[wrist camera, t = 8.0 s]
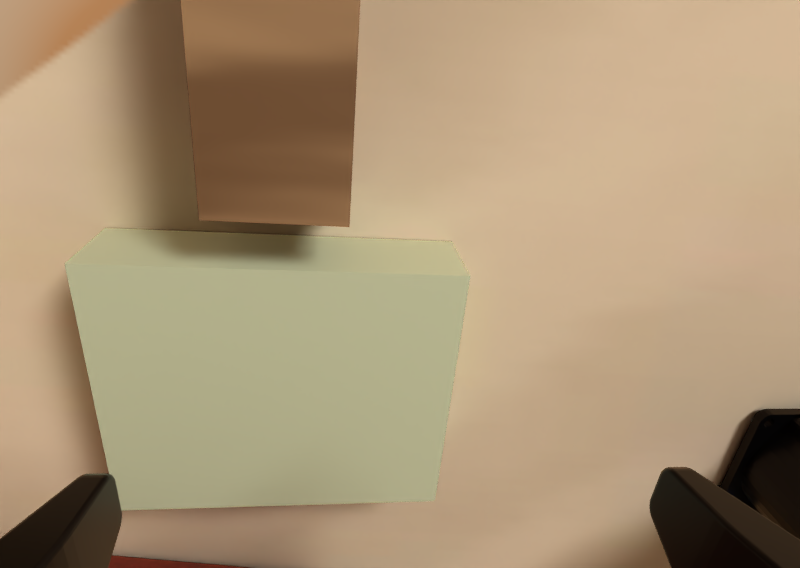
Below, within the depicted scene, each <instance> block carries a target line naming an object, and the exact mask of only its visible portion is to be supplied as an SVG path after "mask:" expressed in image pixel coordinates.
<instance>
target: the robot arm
mask: <svg viewBox="0 0 800 568" xmlns="http://www.w3.org/2000/svg"><path fill="white" fill-rule="evenodd" d="M650 513H651V517H652V519H653V522H654V525H655V527H656V530H657V532H658V535H659V538H660V540H661V543H662V545H663V548H664V550H665V553H666V556H667V558H668V561H669V563H670V566H671V568H800V409H764V410H761V411H759V412H758V413H757V414H756V415H755V416H754V418H753V420H752V422H751V424H750V426H749V428H748V430H747V432H746V434H745V437H744V439H743V441H742V443H741V445H740V447H739V449H738V451H737V453H736V455H735V457H734V459H733V462H732V464H731V466H730V468H729V470H728V472H727V474H726V476H725V478H724V480H723V482H722V484H721V487H719V486H717V485H715V484H714V483H712V482H711V481H709V480H708V479H706V478H705V477H703V476H702V475H700V474H699V473H697V472H696V471H694V470H692V469H690V468H687V467H668V468H665V469H664V470H663V471H662V472H661V474H660V476H659V479H658V481H657V484H656V487H655V489H654V492H653V494H652V497H651V499H650ZM121 520H122V511H121V506H120V501H119V496H118V491H117V486H116V481H115V479H114V477H113V476H112V475H111V474H84V475H82V476H80V477H78V478H77V479H76V480H74V481H73V482H72V483H71V484H69V485H68V486H67V487H65V488H64V489H63V490H62V491H60V492H59V493H58V494H57V495H55V496H54V497H53V498H51V499H50V500H49V501H48V502H46V503H45V504H44V505H42V506H41V507H40V508H39V509H37V510H36V511H35V512H34V513H32V514H31V515H30V516H28V517H27V518H26V519H25V520H23V521H22V522H21V523H19V524H18V525H17V526H16V527H14V528H13V529H12V530H10V531H9V532H8V533H7V534H5V535H4V536H3V537H2V538H0V568H108V566H109V563H110V560H111V556H112V553H113V550H114V546H115V543H116V540H117V536H118V533H119V530H120V526H121Z"/></svg>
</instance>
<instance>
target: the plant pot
mask: <svg viewBox="0 0 800 568" xmlns="http://www.w3.org/2000/svg"><path fill="white" fill-rule="evenodd" d="M108 568H247V567H236V566H226V565H214V564H203V563H191V562H180V561H168V560H156V559H145V558H134V557H123V556H111V560H110V563H109V566H108Z"/></svg>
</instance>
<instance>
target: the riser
mask: <svg viewBox="0 0 800 568" xmlns="http://www.w3.org/2000/svg"><path fill="white" fill-rule="evenodd" d="M65 269H66V273H67V278H68V283H69V287H70V292H71V297H72V302H73V306H74V311H75V316H76V320H77V325H78V330H79V335H80V339H81V344H82V349H83V353H84V358H85V363H86V368H87V372H88V377H89V382H90V386H91V391H92V396H93V401H94V405H95V410H96V415H97V419H98V424H99V429H100V434H101V438H102V443H103V448H104V453H105V457H106V462H107V467H108V471H109V474H111V475H112V476H113V477H114V479H115V481H116V486H117V491H118V496H119V501H120V506H121V511H122V510H156V509H189V508H223V507H256V506H290V505H323V504H357V503H390V502H424V501H435V497H436V491H437V484H438V478H439V472H440V465H441V459H442V453H443V446H444V440H445V434H446V428H447V421H448V415H449V409H450V402H451V396H452V390H453V383H454V377H455V371H456V364H457V358H458V352H459V345H460V339H461V333H462V326H463V320H464V314H465V307H466V301H467V295H468V288H469V282H470V274H469V272H468V271H467V269H466V267H465V265H464V263H463V261H462V259H461V258H460V256H459V254H458V252H457V250H456V248H455V247H454V245H453V243H452V241H428V240H403V239H378V238H352V237H327V236H302V235H276V234H251V233H226V232H200V231H175V230H150V229H125V228H105V229H103V230H102V231H101V232H100V233H99V234H98V235H97V236H95V237H94V238H93V239H92V240H91V241H90V242H89V243H87V244H86V245H85V246H84V247H83V248H82V249H81V250H80V251H78V252H77V253H76V254H75V255H74V256H73V257H72V258H70V259H69V260H68V261H67V262H66V263H65Z"/></svg>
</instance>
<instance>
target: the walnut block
mask: <svg viewBox="0 0 800 568" xmlns="http://www.w3.org/2000/svg"><path fill="white" fill-rule="evenodd" d="M181 12H182V24H183V36H184V48H185V60H186V72H187V84H188V96H189V108H190V120H191V132H192V144H193V156H194V168H195V179H196V191H197V203H198V215H199V220H207V221H229V222H251V223H273V224H295V225H318V226H340V227H349V224H350V203H351V182H352V161H353V140H354V119H355V98H356V77H357V57H358V36H359V15H360V0H181Z"/></svg>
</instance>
